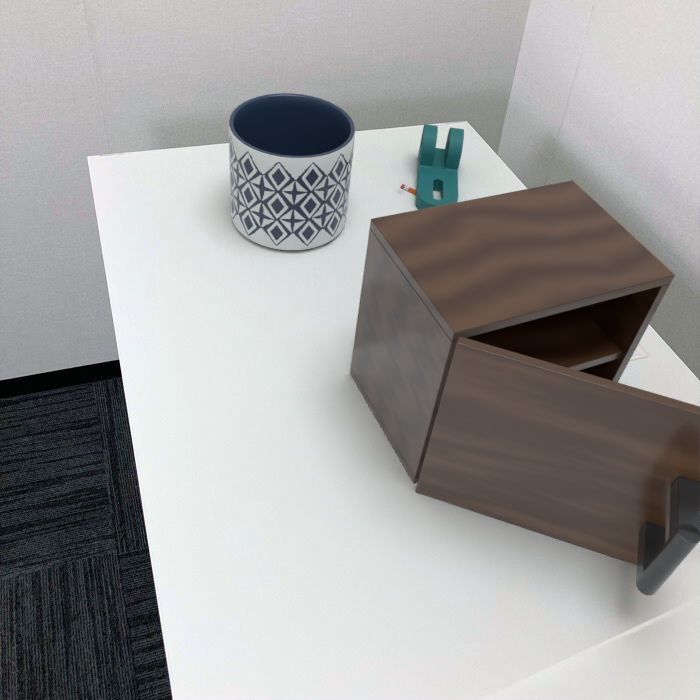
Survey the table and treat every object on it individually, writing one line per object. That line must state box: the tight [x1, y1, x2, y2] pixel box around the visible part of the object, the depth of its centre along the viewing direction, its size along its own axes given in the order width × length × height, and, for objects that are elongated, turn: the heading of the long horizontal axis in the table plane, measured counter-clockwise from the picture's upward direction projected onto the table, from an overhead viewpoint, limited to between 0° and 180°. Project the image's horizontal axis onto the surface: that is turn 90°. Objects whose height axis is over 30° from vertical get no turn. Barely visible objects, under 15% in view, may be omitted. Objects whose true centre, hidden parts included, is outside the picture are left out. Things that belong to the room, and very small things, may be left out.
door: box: [415, 336, 700, 597], centre depth 70 cm, size 8×26×24 cm, turn 72°
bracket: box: [415, 123, 465, 210], centre depth 124 cm, size 18×7×8 cm, turn 175°
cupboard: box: [349, 179, 676, 484], centre depth 85 cm, size 18×26×24 cm
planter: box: [228, 92, 356, 251], centre depth 111 cm, size 18×18×16 cm
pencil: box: [400, 183, 417, 196], centre depth 123 cm, size 1×18×1 cm, turn 53°
